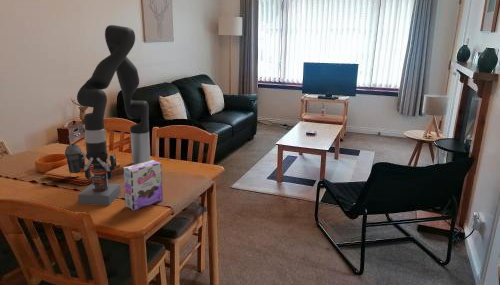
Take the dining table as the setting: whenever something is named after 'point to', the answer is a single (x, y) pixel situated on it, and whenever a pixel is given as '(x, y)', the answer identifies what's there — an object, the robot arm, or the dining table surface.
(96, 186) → the supplement bottle
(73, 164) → the beverage cup
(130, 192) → the candy box
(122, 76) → the robot arm
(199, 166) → the dining table surface
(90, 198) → the block
